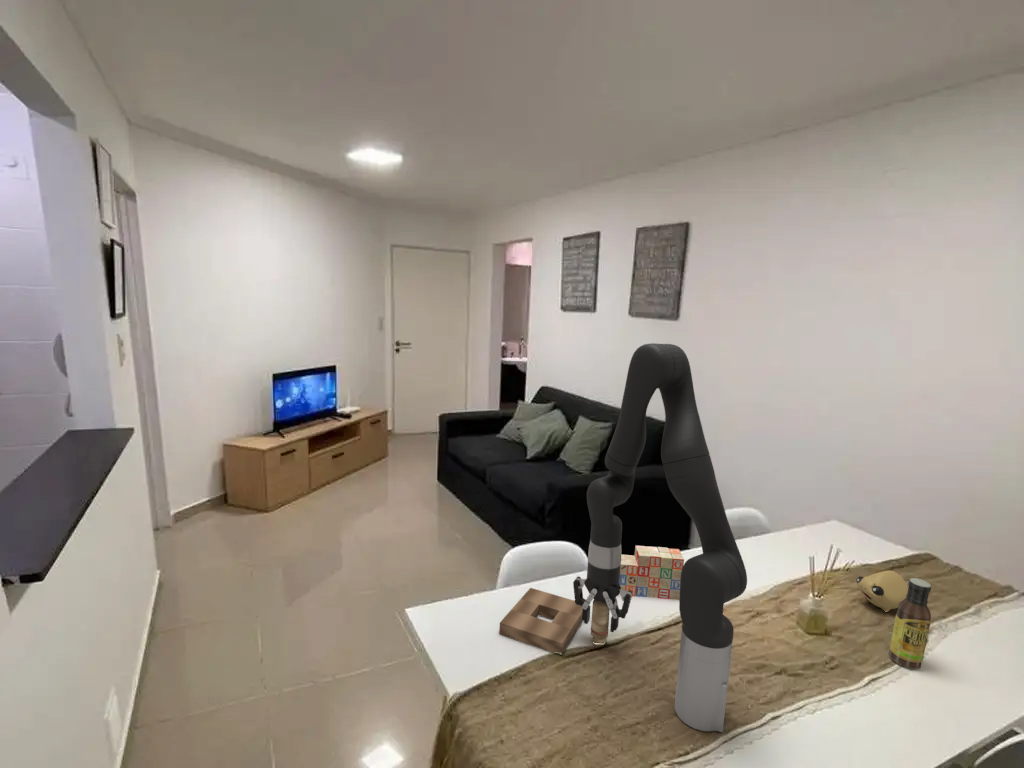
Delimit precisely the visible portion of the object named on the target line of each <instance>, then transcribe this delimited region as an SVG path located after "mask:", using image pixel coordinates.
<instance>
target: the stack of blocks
mask: <svg viewBox="0 0 1024 768" xmlns="http://www.w3.org/2000/svg"><path fill="white" fill-rule="evenodd" d="M621 557H622V559H621V567H620V580H619V584H620V587H621V589H622V590H625V591H627V592H628V591H629V590H630V591H632V593H633V594H632V597H639V598H641V597H643V598H653V599H654V598H655V599H663V600H673V601H680V578H681V572H682V568H683V566H684V564H685V557H683V554H682V553H681V550H680V549H679V548H668V547H666V546H665V547H664V546H663V547H662V546H645V545H635V547H634V554H633V555H631V554H630V555H629V554H622V553H621Z"/></svg>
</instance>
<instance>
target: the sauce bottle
mask: <svg viewBox="0 0 1024 768" xmlns="http://www.w3.org/2000/svg"><path fill="white" fill-rule="evenodd" d="M907 586H908V593H907V595H906V598H905V599H904V600H903V601H901V602H900V603H899V605H898V608H897V611H896V613H895V619H894V623H893V628H892V633H891V637H890V638H891V639H890V644H889V652H888V655H889V657H890V659H891V660H892V661H893V662H894V663H895V664H896V663H897V664H898V665H900V666H902V667H904V668H907V669H908V668H909V669H911V670H915V669H920V668H922V667H921V666H922V662H923V661H924V657H925V656H924V655H925V651H926V646H927V641H928V637H929V631H930V627H931V618H932V613H931V611H930V609H929V607H928V600H929V595H930V593H931V591H932V585H931V584H930V583H929V582H927V580H923V579H921V578H917V577H916V578H914V577H911V578H909V579H908V583H907Z"/></svg>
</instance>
